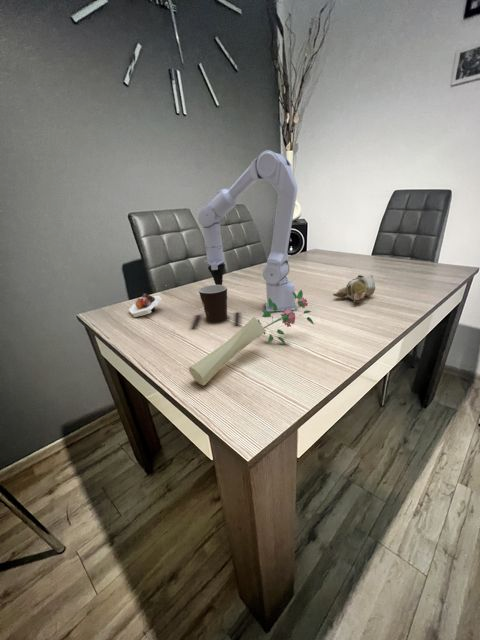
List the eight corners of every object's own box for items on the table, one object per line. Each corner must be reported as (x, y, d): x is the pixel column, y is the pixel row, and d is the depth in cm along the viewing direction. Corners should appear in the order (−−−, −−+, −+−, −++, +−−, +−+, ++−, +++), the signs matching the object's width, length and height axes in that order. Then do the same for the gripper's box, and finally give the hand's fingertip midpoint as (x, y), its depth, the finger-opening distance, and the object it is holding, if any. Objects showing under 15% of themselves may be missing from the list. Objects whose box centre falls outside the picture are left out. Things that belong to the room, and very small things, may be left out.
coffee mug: (226, 324, 84) (222, 293, 79) (199, 324, 86) (194, 293, 81) (235, 310, 94) (232, 282, 89) (211, 310, 95) (207, 282, 91)
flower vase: (203, 401, 64) (290, 323, 82) (232, 413, 55) (323, 321, 73) (176, 361, 60) (274, 287, 77) (203, 367, 50) (308, 281, 68)
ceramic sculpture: (386, 272, 94) (357, 284, 87) (383, 296, 98) (355, 309, 91) (360, 268, 101) (332, 278, 95) (358, 290, 106) (331, 301, 99)
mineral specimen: (171, 305, 96) (160, 287, 92) (145, 325, 91) (132, 307, 87) (156, 301, 104) (145, 284, 100) (131, 319, 99) (118, 303, 95)
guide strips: (238, 313, 92) (238, 312, 92) (238, 325, 83) (238, 324, 83) (197, 316, 91) (196, 315, 91) (192, 328, 83) (192, 327, 83)
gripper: (204, 243, 99) (210, 281, 106) (199, 250, 86) (205, 292, 93) (224, 242, 99) (228, 279, 106) (221, 249, 86) (226, 290, 93)
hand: (219, 285), depth 99 cm, fingers closed
